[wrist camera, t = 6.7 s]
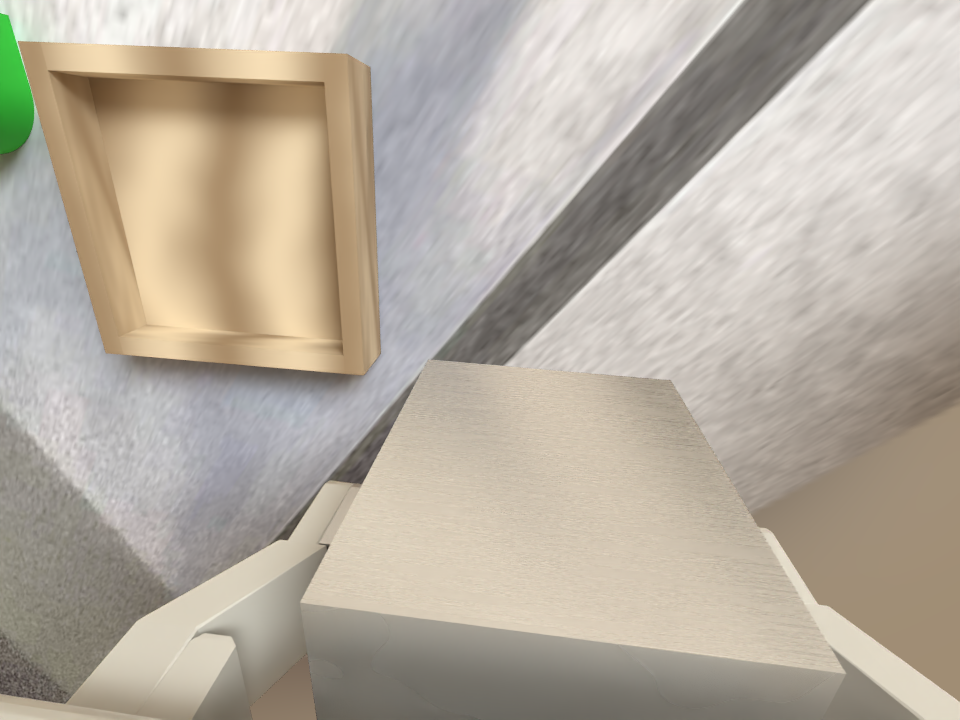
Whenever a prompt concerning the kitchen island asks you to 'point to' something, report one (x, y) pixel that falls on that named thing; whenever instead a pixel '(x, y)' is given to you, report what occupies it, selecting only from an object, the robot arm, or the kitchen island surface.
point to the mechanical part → (13, 92)
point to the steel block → (555, 566)
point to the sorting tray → (218, 199)
